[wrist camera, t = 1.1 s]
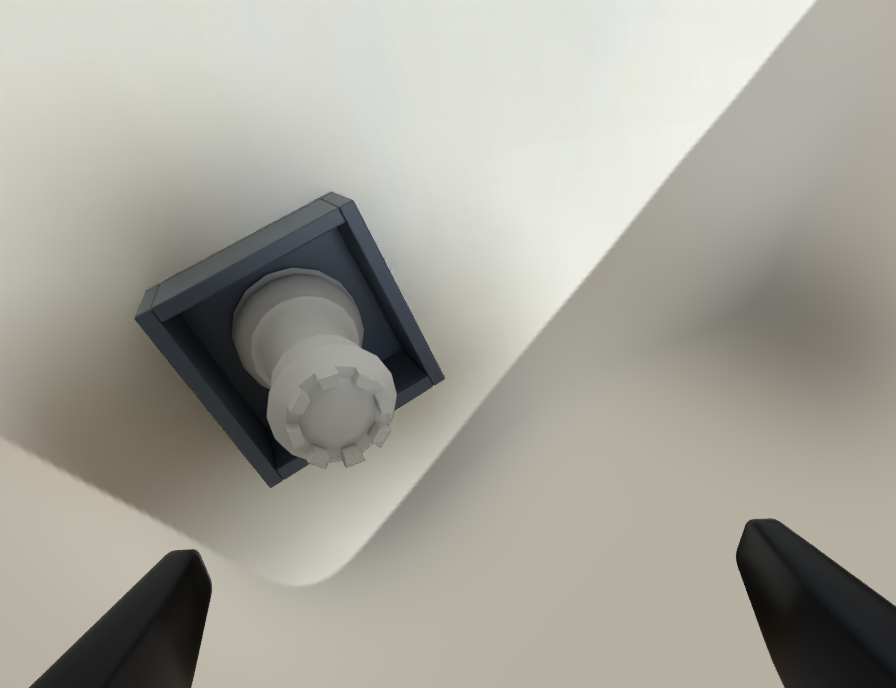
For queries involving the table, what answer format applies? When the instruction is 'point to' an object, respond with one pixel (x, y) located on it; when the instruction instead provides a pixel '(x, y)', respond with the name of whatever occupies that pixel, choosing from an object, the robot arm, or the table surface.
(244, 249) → the tote
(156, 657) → the robot arm
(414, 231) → the table surface
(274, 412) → the rook chess piece
